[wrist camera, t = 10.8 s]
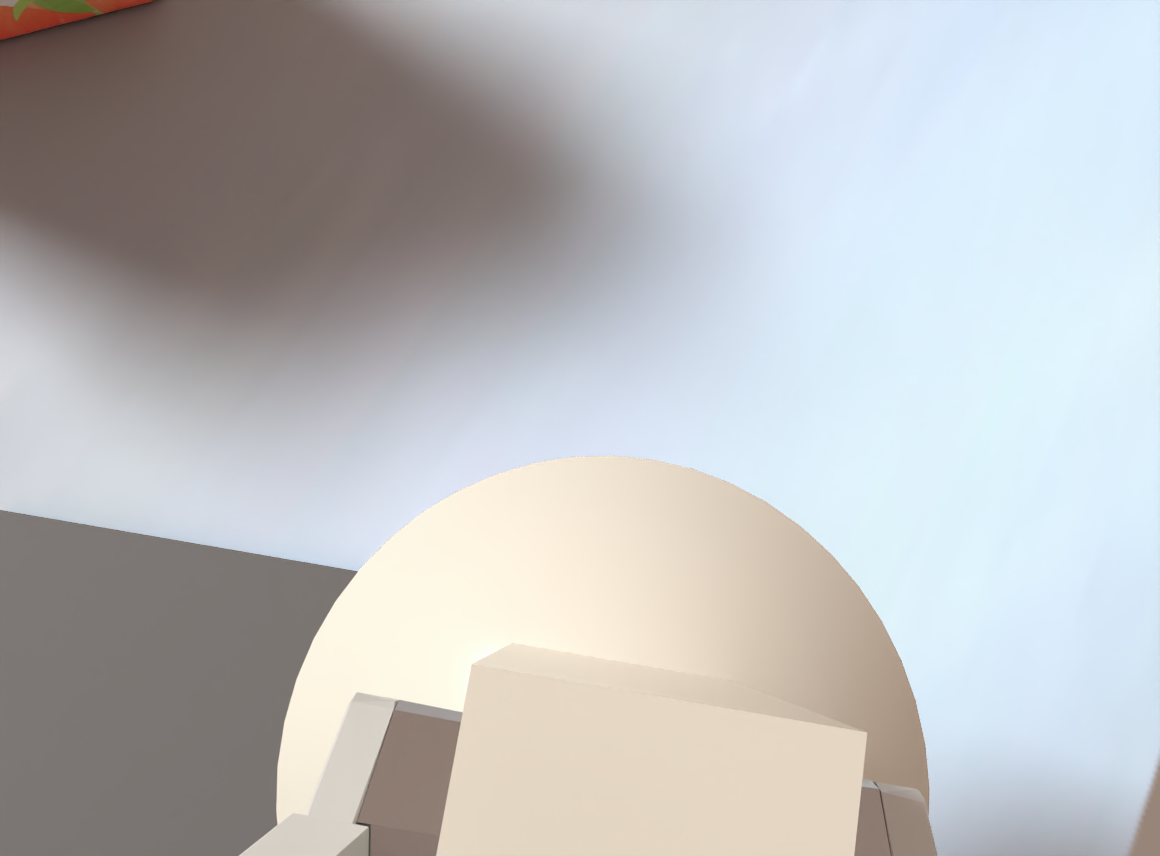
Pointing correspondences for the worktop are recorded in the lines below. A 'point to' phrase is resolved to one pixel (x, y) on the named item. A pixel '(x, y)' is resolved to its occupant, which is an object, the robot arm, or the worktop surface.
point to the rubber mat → (145, 688)
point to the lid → (620, 669)
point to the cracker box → (52, 13)
